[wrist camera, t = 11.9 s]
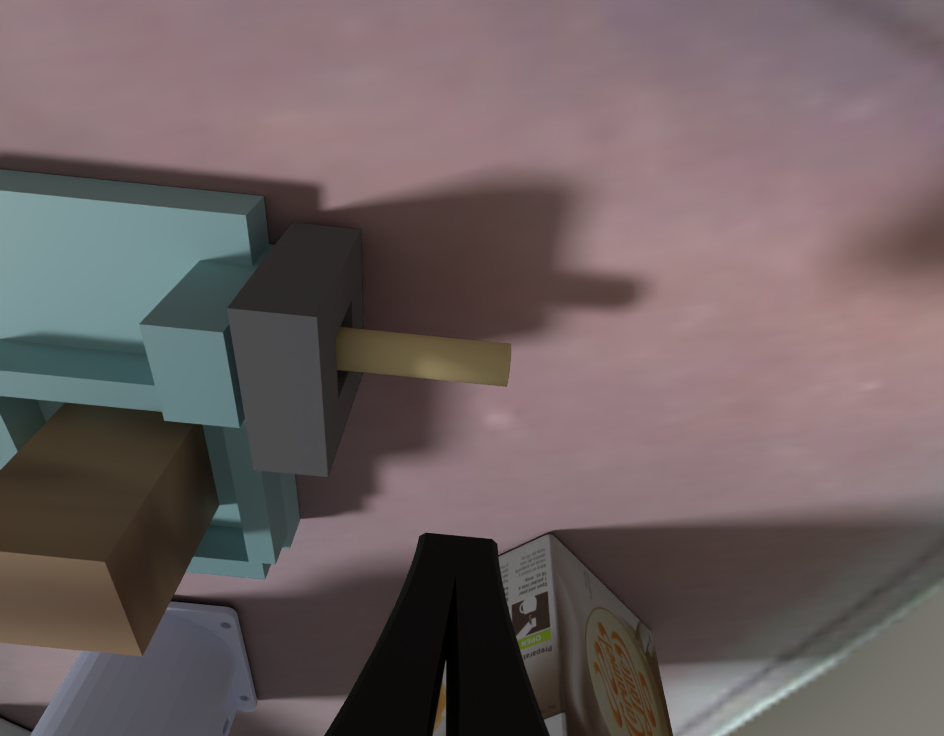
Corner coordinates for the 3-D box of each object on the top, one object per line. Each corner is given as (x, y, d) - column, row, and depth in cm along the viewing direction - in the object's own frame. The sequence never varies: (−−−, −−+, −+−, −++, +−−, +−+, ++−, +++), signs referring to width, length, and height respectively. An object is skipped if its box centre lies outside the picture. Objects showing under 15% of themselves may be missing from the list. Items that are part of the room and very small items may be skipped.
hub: (363, 369, 21) (328, 477, 17) (304, 364, 21) (253, 469, 16) (360, 229, 18) (316, 317, 14) (292, 222, 18) (226, 307, 14)
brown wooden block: (219, 505, 23) (142, 656, 18) (100, 492, 23) (-9, 641, 18) (200, 414, 21) (104, 562, 16) (66, 400, 21) (-71, 544, 16)
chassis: (477, 537, 26) (471, 649, 22) (86, 499, 26) (6, 604, 22) (521, 222, 18) (524, 306, 14) (-48, 164, 18) (-214, 232, 14)
